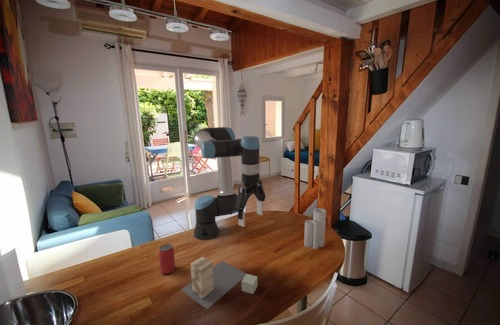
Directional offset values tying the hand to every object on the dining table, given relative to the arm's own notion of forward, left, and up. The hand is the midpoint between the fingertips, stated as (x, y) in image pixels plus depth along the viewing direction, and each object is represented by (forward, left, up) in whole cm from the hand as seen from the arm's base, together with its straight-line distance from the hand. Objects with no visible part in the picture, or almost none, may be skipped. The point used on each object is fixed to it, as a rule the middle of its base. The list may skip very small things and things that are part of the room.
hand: (251, 219), depth 100 cm
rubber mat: (-8, -15, -26) cm, 31 cm away
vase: (+14, +39, -26) cm, 49 cm away
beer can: (-32, -23, -26) cm, 47 cm away
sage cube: (+6, -9, -26) cm, 28 cm away
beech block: (-8, -22, -25) cm, 34 cm away
